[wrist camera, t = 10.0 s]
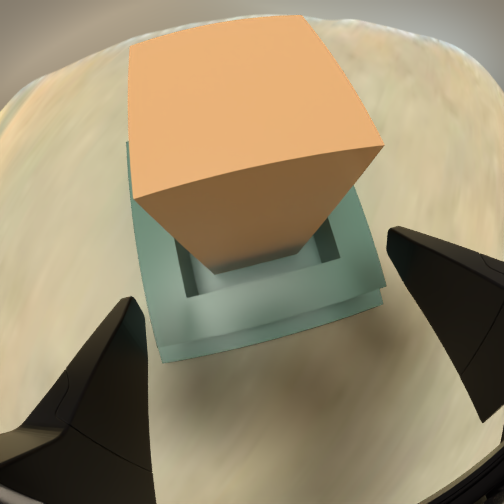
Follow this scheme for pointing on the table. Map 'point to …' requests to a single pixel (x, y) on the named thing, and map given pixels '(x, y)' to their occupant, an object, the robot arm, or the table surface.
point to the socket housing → (255, 286)
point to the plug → (243, 137)
